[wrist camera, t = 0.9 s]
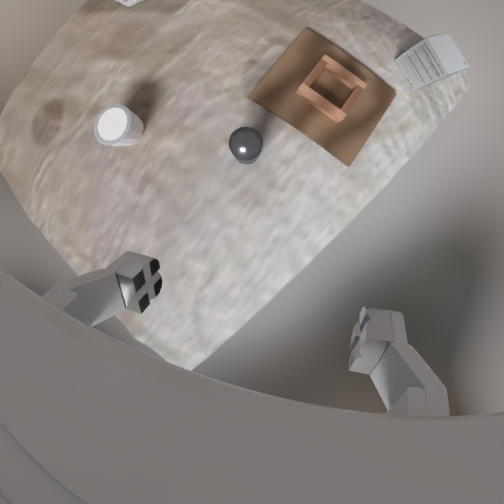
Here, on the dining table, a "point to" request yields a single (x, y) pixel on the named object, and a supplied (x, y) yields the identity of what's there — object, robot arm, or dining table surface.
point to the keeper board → (324, 95)
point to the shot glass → (118, 126)
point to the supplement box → (431, 61)
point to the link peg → (245, 144)
